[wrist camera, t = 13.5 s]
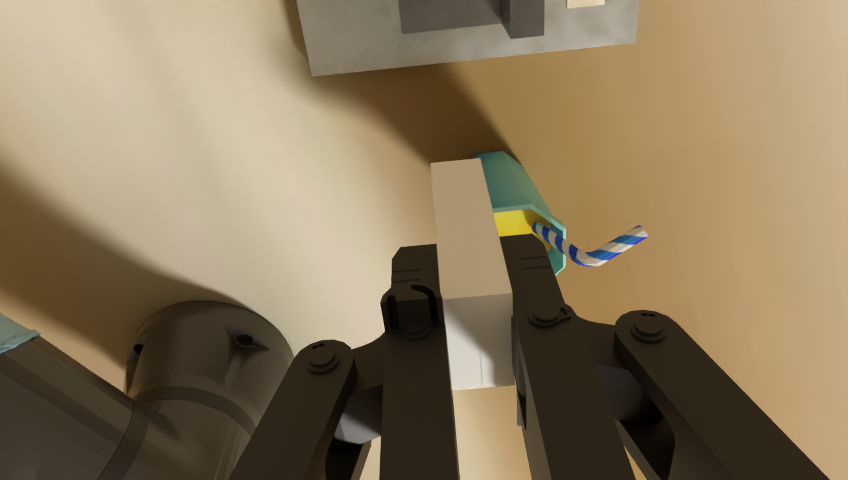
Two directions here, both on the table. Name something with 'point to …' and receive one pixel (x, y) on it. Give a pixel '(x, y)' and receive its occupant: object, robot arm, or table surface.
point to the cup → (539, 214)
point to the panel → (454, 30)
